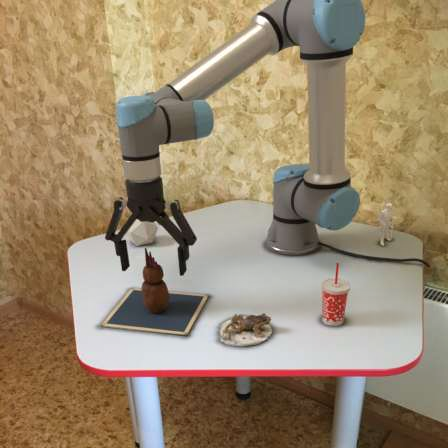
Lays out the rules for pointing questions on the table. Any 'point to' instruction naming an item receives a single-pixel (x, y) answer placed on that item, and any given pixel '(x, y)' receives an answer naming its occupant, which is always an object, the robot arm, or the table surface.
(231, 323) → the frog figurine
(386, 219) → the action figure
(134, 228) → the die
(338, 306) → the beverage cup
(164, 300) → the wooden figurine
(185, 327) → the framed chalkboard
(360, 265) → the table surface
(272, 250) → the robot arm
